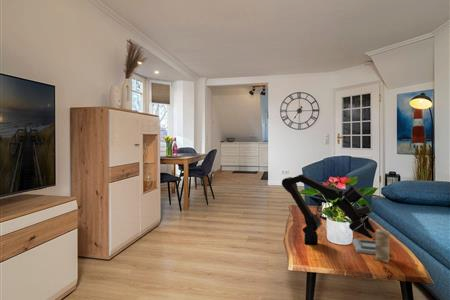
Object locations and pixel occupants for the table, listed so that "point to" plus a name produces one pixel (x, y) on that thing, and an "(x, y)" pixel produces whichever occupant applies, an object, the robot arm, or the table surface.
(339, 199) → the robot arm
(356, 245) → the baseplate
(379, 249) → the birch block
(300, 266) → the table surface
